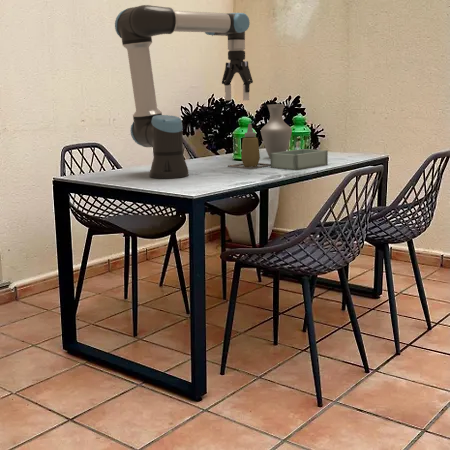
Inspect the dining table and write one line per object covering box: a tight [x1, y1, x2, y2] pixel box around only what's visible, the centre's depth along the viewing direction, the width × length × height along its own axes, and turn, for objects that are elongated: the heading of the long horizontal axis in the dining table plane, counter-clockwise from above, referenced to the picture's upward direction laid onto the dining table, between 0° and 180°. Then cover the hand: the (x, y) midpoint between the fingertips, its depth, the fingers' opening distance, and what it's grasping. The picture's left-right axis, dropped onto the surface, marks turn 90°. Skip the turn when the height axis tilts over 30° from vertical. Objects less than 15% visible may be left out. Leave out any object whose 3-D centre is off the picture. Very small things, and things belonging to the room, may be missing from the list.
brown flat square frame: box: [227, 162, 271, 170], centre depth 274 cm, size 14×14×1 cm
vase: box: [260, 103, 293, 159], centre depth 297 cm, size 14×14×25 cm
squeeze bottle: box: [240, 123, 261, 167], centre depth 272 cm, size 8×8×18 cm
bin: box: [269, 148, 329, 171], centre depth 269 cm, size 21×14×6 cm, turn 134°
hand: (237, 100), depth 281 cm, fingers open, 13 cm apart
